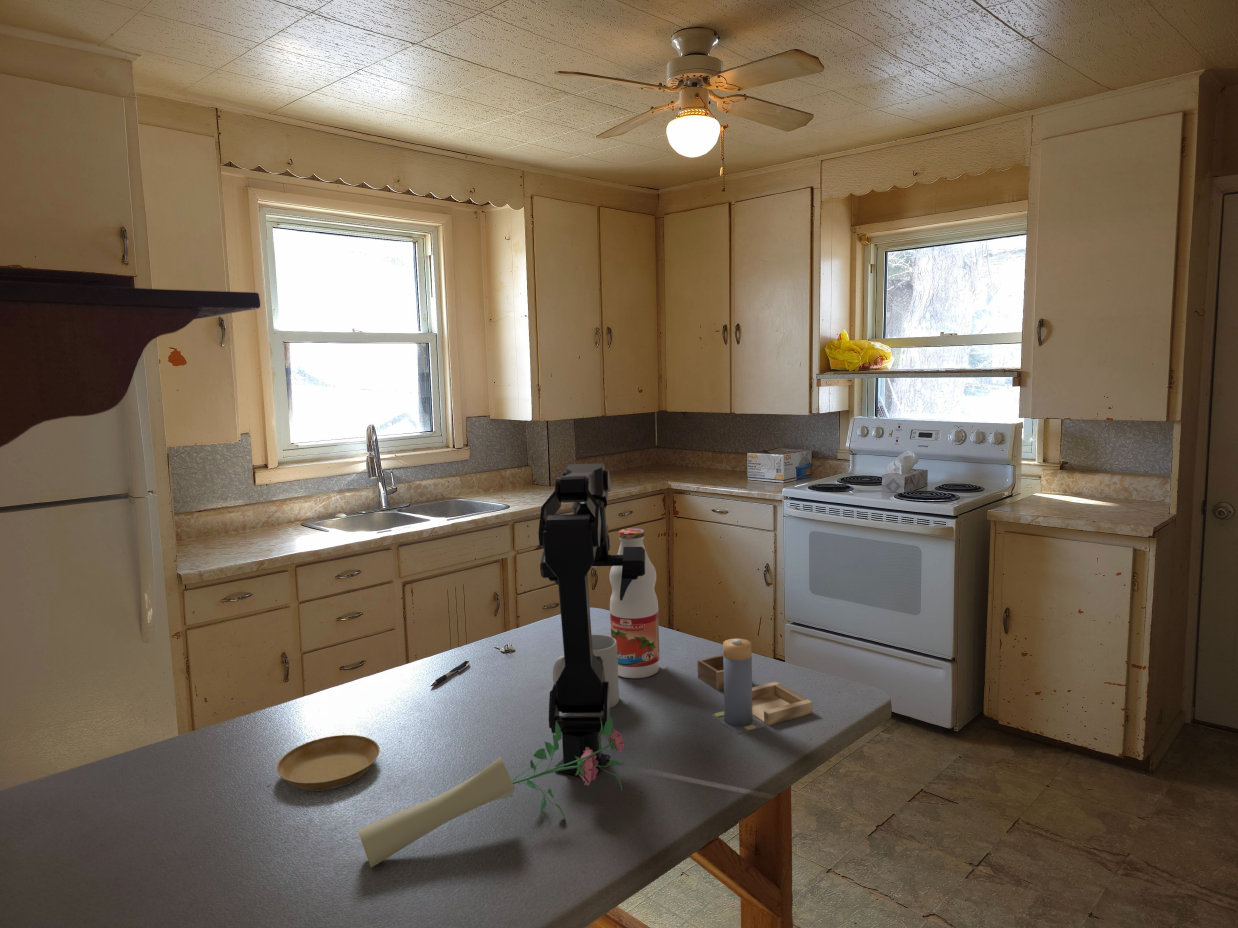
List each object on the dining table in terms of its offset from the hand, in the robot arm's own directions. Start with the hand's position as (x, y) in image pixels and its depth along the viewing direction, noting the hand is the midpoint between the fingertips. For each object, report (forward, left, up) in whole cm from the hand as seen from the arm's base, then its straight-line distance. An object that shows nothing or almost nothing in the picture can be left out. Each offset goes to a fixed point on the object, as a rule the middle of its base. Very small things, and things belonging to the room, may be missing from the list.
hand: (596, 599), depth 149 cm
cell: (-6, -29, -16) cm, 34 cm away
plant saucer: (-44, +24, -17) cm, 53 cm away
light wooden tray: (0, -33, -17) cm, 37 cm away
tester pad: (-6, -29, -17) cm, 34 cm away
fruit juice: (+9, -3, -17) cm, 19 cm away
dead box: (+9, -21, -17) cm, 29 cm away
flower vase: (-47, -9, -17) cm, 50 cm away
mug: (-8, -1, -17) cm, 19 cm away
